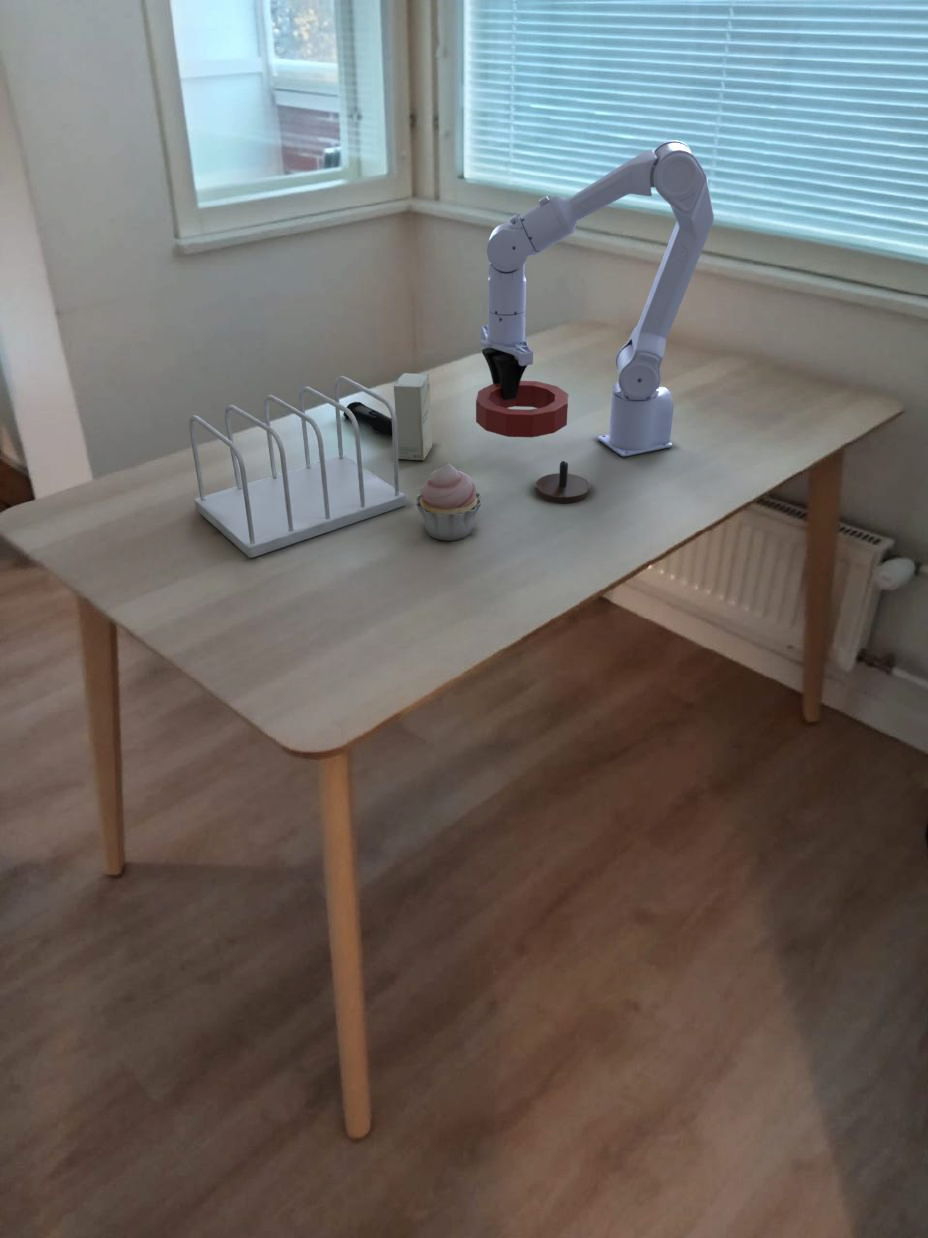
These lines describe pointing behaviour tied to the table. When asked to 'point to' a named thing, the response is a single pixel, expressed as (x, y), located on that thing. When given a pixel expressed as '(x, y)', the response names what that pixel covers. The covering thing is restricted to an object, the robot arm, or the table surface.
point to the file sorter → (297, 485)
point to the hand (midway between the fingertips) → (505, 395)
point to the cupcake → (448, 504)
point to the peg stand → (562, 486)
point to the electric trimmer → (370, 418)
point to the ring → (522, 422)
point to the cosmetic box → (413, 416)
